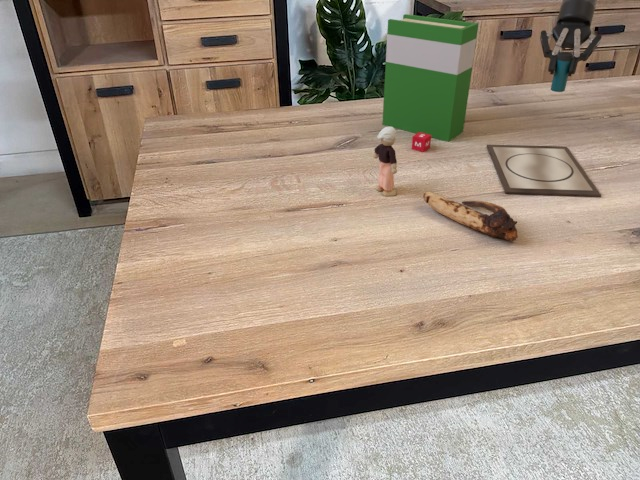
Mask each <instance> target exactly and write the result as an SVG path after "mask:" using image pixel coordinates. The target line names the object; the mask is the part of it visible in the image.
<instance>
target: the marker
mask: <svg viewBox="0 0 640 480" xmlns="http://www.w3.org/2000/svg"><path fill="white" fill-rule="evenodd" d="M572 58H573V52H569V51H561V52H559V53H558V56H557V61H556V66H555V70H554V74H553V76H552V80H551V85H550V91H552V92H555V93H563V92H565V91H566V88H567V83H568V79H569V76H568V73H569V69H570V65H571V61H572Z"/></svg>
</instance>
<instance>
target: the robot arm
mask: <svg viewBox="0 0 640 480" xmlns="http://www.w3.org/2000/svg"><path fill="white" fill-rule="evenodd" d="M597 1H598V0H561V4H560V7H559V12H558V15H557V16H558V17H557V20H556V24H555V26H554V27H553V28H552V29H551V30H549V31H546V30H544V29H543V30H541V32H540V37H539V41H540V45H541V49H542V54H543V57H544V58H545V59H546V58H547V59H549V63H548V68H547V71H548V72H549V75H553V76H554V71H555V66H556V61H557V56H558V53H559V52H562V50H563V49H569V50H572V53H573V58H572V61H571V65H570V69H569V73H568V77H572V75H575V73H576V71H577V67H578V64H579V62H586V61H588V59H589V58H590V57H591V55H592V54H593V53H595V51H596V49H597V48H598V47H599V45H600V44H601V41H602V37H603V36H602V34H594V33H592V30H591V25H592V22H593V19H594V15H595V10H596V6H597ZM551 38H553V40H554V42H555V46H554V48H553V50H552V49H551V47H550V43H549V42H550V41H551ZM588 40H589V41H588ZM587 41H588V46H587V47H586V48H585V49H584V51H583V52H581V46H582V45H583V44H584V43H586V42H587Z"/></svg>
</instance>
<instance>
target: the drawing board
mask: <svg viewBox="0 0 640 480" xmlns="http://www.w3.org/2000/svg"><path fill="white" fill-rule="evenodd" d="M486 148H487V151H488V153H489V156H490V158H491V161H492V163H493V166H494V169H495V171H496V173H497V176H498V178H499V181H500V184H501V186H502V188H503V191H504V193H505V195H520V196H521V195H524V196H526V195H528V196H530V195H531V196H554V197H555V196H556V197H586V198H601V196H602V194H601V193H600V191H599V190H598V188H597V187H596V185H595V184H594V182H592V180H591V179H590V176H589V175H588V174H587V172H586V171H585V170H584V169H583V167H582V166H581V165H580V163H579V161H577V159H576V157H575V156H574V154H573V153H572V151H571V150H570V149H569V148H568V146H562V145H561V146H560V145H526V144H525V145H523V144H522V145H521V144H519V145H518V144H486Z"/></svg>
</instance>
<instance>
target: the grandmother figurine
mask: <svg viewBox="0 0 640 480" xmlns="http://www.w3.org/2000/svg"><path fill="white" fill-rule="evenodd" d="M396 131H397V130H396V128H394V127H390V126H385V127H383V128H382V129H381V130H380V131H379V132H378V134H377V135H376V139H377V140H379V141H381V143H380V144H378V145H377V146H376V147H374V152H373V154H372V155H373V156H372V157H373V158H374V159H378V161H379V168H378V185H377V186H376V187H375V191H377V192H381V195H382V196H383V197H394V196H397V194H398V193H397V190H396V189H395V188H393V187H395V178H394V177H395V174H397V173H398V169H397V168H398V166H397V164H398V161H397V157H396V150H395V148H394V147H393V145H394V144H395V142H396V134H397V132H396Z"/></svg>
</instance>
